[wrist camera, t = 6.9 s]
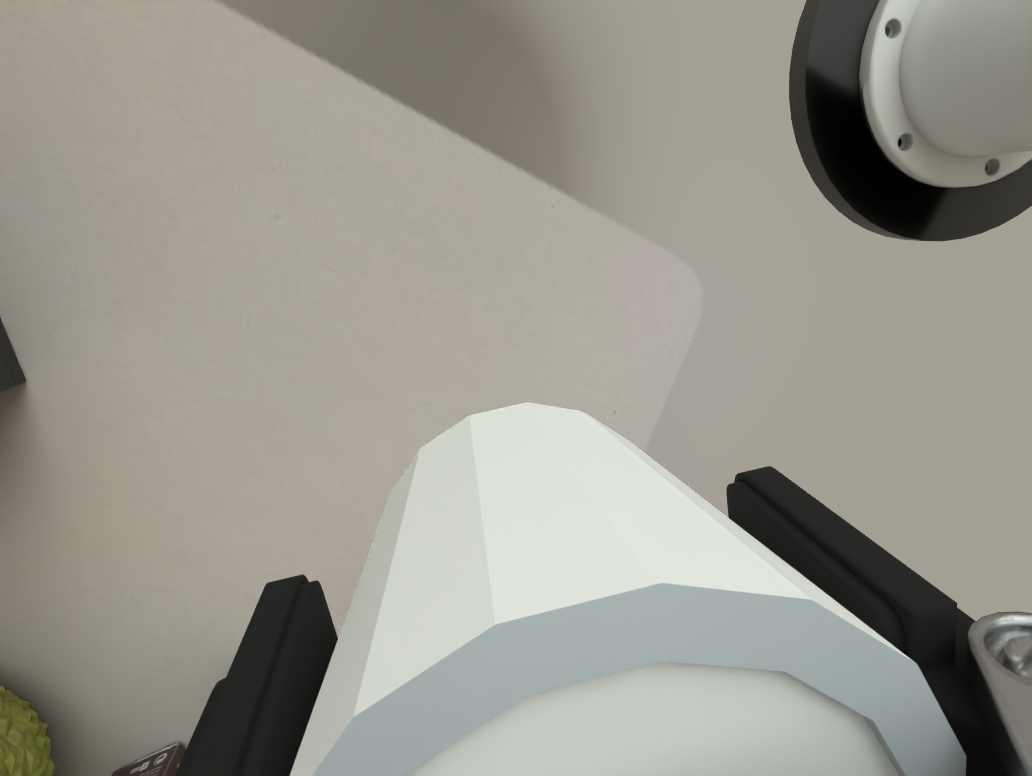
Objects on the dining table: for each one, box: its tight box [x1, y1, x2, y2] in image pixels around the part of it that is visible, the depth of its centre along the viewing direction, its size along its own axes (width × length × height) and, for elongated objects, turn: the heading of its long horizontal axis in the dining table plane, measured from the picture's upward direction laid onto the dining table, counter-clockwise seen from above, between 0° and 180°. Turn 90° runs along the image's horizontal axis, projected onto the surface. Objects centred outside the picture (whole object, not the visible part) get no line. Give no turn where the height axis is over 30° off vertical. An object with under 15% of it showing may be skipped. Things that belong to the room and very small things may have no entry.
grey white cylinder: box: [290, 403, 966, 776], centre depth 9 cm, size 7×7×7 cm
